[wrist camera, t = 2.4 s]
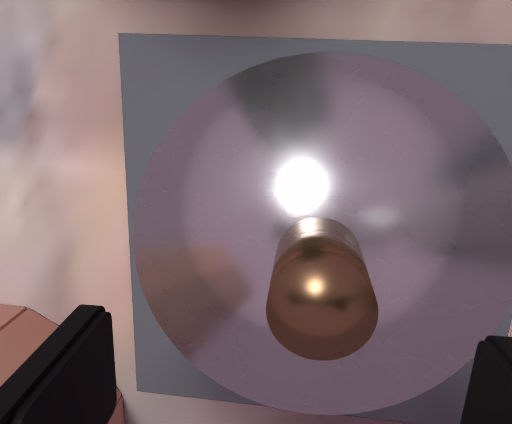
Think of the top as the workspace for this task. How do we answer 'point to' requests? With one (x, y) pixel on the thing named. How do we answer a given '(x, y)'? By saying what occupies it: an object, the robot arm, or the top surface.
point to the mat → (233, 62)
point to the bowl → (30, 344)
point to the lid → (326, 233)
